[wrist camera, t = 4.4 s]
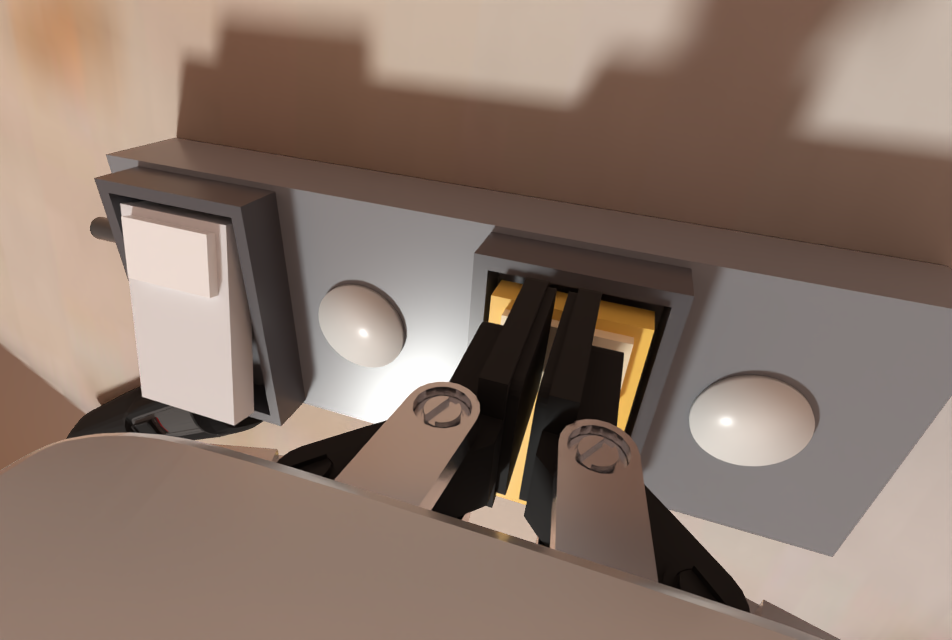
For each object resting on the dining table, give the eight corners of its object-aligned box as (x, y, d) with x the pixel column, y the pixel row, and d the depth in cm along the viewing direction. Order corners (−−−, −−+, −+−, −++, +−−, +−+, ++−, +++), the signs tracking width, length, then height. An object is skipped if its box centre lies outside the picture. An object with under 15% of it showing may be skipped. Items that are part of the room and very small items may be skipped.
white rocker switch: (253, 412, 18) (226, 430, 17) (165, 385, 19) (133, 401, 18) (248, 221, 16) (217, 227, 15) (147, 200, 17) (109, 204, 16)
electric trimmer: (91, 392, 32) (40, 425, 30) (249, 347, 25) (201, 386, 22) (129, 437, 34) (84, 472, 31) (290, 406, 26) (248, 449, 24)
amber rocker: (598, 501, 16) (594, 535, 15) (480, 466, 17) (467, 495, 16) (655, 311, 13) (654, 337, 12) (501, 279, 14) (487, 301, 12)
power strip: (810, 486, 19) (847, 604, 15) (138, 308, 26) (48, 358, 22) (947, 266, 14) (1053, 357, 10) (76, 121, 21) (-53, 143, 17)
